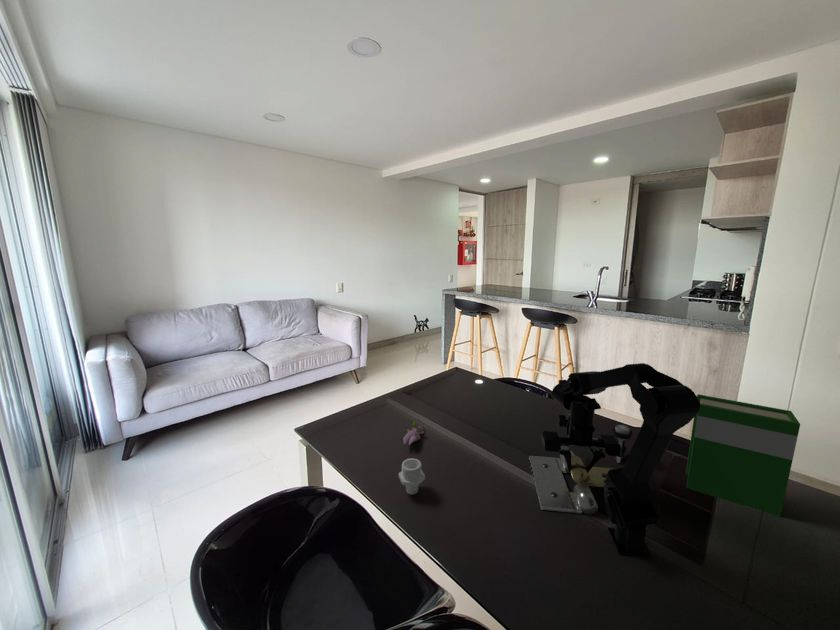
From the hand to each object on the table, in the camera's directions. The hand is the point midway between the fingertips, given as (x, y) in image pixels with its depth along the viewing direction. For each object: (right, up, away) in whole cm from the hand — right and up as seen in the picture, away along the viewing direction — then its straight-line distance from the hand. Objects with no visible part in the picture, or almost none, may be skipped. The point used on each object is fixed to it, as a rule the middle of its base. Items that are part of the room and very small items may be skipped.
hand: (577, 471), depth 93 cm
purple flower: (-45, -1, +25) cm, 51 cm away
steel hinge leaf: (-4, -4, +2) cm, 6 cm away
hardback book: (+38, -4, -3) cm, 38 cm away
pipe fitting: (-45, -5, 0) cm, 45 cm away
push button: (+18, -2, +12) cm, 22 cm away
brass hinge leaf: (+5, -2, 0) cm, 5 cm away
